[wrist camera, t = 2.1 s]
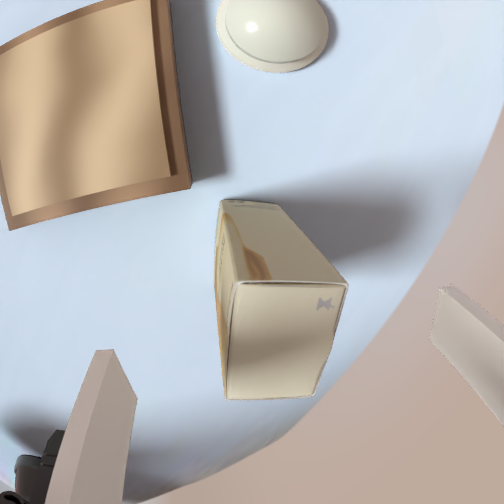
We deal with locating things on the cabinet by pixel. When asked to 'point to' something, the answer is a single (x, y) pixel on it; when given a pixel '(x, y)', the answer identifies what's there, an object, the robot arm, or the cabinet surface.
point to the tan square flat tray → (90, 112)
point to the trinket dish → (273, 32)
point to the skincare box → (272, 303)
